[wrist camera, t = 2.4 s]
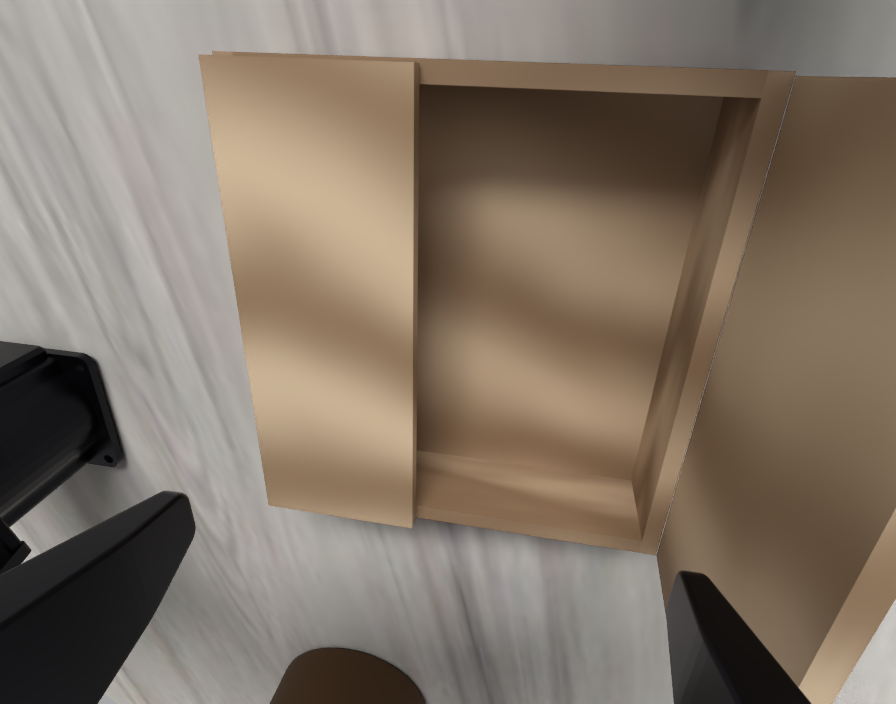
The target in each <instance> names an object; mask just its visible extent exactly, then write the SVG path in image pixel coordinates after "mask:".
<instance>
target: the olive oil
mask: <svg viewBox="0 0 896 704" xmlns="http://www.w3.org/2000/svg"><path fill="white" fill-rule="evenodd" d="M270 704H425V702H424V699H423V697H422V695H421V693H420V691H419V690H418V688H417V687H416V686H415V684H414V683H413V682H412V681H411V680H410V679H409V678H408V677H407V676H406V675H405V674H403V673H402V672H401V671H400V670H398V669H397V668H395V667H394V666H392V665H390V664H389V663H387V662H385V661H383V660H381V659H379V658H376V657H374V656H371V655H369V654H366V653H362V652H359V651H355V650H350V649H343V648H321V649H316V650H312V651H309V652H306V653H304V654H302V655H300V656H298V657H297V658H295V659H294V660H293V661H292V662H291V664H290V665H289V666H288V668H287V670H286V672H285V674H284V676H283V678H282V680H281V682H280V684H279V686H278V688H277V690H276V692H275V694H274V696H273V698H272V700H271V702H270Z"/></svg>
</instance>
